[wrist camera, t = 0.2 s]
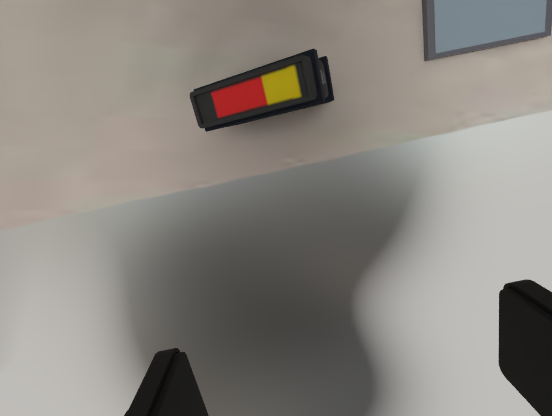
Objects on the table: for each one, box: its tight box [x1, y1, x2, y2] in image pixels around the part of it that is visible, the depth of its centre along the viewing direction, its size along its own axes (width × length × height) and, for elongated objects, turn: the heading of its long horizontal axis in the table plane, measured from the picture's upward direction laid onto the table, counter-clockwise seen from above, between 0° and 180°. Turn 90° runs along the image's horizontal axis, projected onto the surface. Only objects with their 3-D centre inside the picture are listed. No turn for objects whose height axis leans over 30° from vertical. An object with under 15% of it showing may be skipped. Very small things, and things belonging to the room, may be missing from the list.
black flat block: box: [190, 49, 334, 132], centre depth 30 cm, size 4×13×15 cm, turn 103°
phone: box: [422, 0, 552, 61], centre depth 33 cm, size 7×14×1 cm, turn 101°
